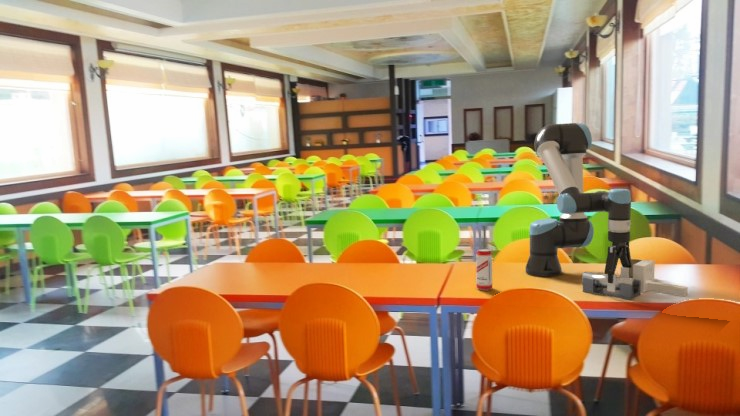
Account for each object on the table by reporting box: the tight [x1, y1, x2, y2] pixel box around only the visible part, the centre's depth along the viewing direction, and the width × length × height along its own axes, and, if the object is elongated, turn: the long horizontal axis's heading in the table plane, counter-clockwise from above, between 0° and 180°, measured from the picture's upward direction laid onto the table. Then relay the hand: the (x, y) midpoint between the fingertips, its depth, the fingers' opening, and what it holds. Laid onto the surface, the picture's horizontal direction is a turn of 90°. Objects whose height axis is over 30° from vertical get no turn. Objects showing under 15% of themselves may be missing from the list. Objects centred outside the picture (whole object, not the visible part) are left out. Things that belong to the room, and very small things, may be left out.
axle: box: [581, 271, 635, 291], centre depth 213 cm, size 18×5×5 cm, turn 44°
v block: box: [582, 277, 641, 301], centre depth 212 cm, size 18×9×6 cm, turn 44°
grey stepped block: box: [603, 259, 689, 297], centre depth 216 cm, size 31×11×10 cm, turn 44°
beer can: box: [475, 248, 493, 291], centre depth 224 cm, size 6×6×16 cm
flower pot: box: [628, 258, 643, 279], centre depth 231 cm, size 10×10×7 cm
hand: (617, 287), depth 211 cm, fingers open, 11 cm apart
